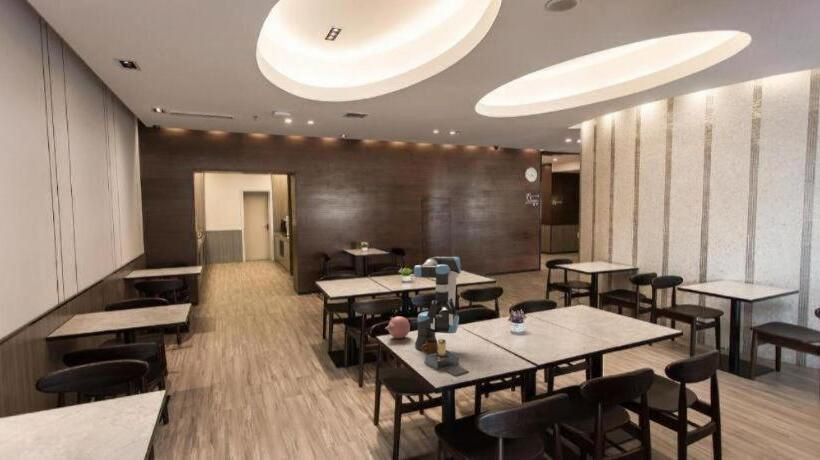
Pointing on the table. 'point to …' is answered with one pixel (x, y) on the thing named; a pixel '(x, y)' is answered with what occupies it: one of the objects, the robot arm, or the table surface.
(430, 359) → the housing
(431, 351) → the mug
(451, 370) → the mat
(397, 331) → the balloon
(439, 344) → the gold metal cylinder
